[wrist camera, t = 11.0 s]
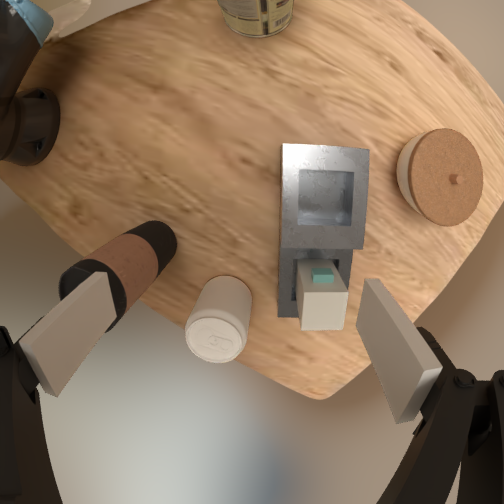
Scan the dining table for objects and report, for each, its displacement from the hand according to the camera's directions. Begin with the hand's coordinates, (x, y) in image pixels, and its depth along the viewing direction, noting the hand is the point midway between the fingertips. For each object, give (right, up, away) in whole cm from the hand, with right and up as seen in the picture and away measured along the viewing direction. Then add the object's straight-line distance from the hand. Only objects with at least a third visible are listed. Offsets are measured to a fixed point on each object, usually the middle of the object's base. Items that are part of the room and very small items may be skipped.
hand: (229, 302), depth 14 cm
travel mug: (-14, +4, +29) cm, 33 cm away
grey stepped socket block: (+10, +5, +27) cm, 29 cm away
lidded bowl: (+26, +15, +23) cm, 38 cm away
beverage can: (-3, -5, +32) cm, 32 cm away
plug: (+10, -1, +28) cm, 29 cm away
